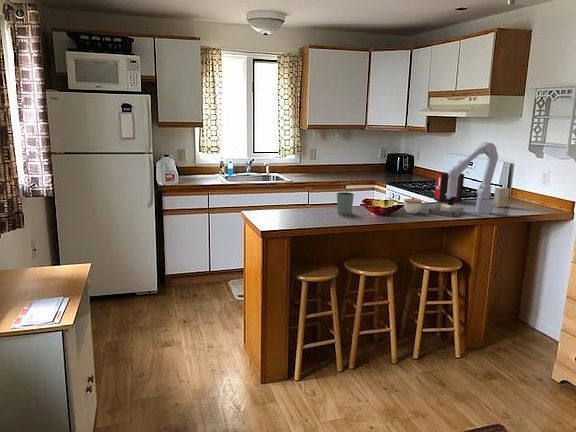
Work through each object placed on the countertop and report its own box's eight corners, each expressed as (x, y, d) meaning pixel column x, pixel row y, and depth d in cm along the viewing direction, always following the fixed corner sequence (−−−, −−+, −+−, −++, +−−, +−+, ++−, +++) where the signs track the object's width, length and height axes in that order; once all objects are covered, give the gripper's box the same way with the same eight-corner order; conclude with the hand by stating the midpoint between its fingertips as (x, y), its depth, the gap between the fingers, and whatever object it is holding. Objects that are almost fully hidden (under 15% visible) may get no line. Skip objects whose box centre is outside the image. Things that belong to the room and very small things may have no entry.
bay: (463, 212, 304) (463, 207, 303) (454, 217, 287) (454, 212, 287) (438, 208, 312) (439, 204, 312) (428, 213, 296) (429, 208, 295)
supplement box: (502, 205, 331) (504, 187, 328) (507, 207, 327) (509, 188, 324) (492, 206, 328) (494, 187, 326) (497, 207, 324) (499, 188, 321)
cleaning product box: (439, 202, 339) (442, 173, 335) (433, 199, 347) (436, 172, 343) (461, 202, 341) (464, 174, 337) (455, 199, 350) (458, 172, 346)
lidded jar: (404, 210, 305) (405, 195, 303) (421, 211, 301) (423, 197, 299) (401, 213, 295) (403, 198, 293) (419, 214, 291) (421, 199, 289)
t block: (457, 212, 302) (458, 206, 302) (452, 214, 294) (453, 208, 294) (441, 210, 308) (442, 204, 307) (436, 212, 300) (437, 206, 299)
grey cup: (350, 215, 283) (351, 195, 281) (333, 213, 287) (334, 193, 284) (354, 212, 293) (355, 192, 290) (338, 210, 296) (339, 191, 294)
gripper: (449, 185, 311) (447, 206, 314) (442, 188, 300) (440, 209, 302) (460, 187, 307) (458, 207, 310) (453, 189, 296) (451, 211, 299)
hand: (450, 208), depth 306 cm, fingers closed
